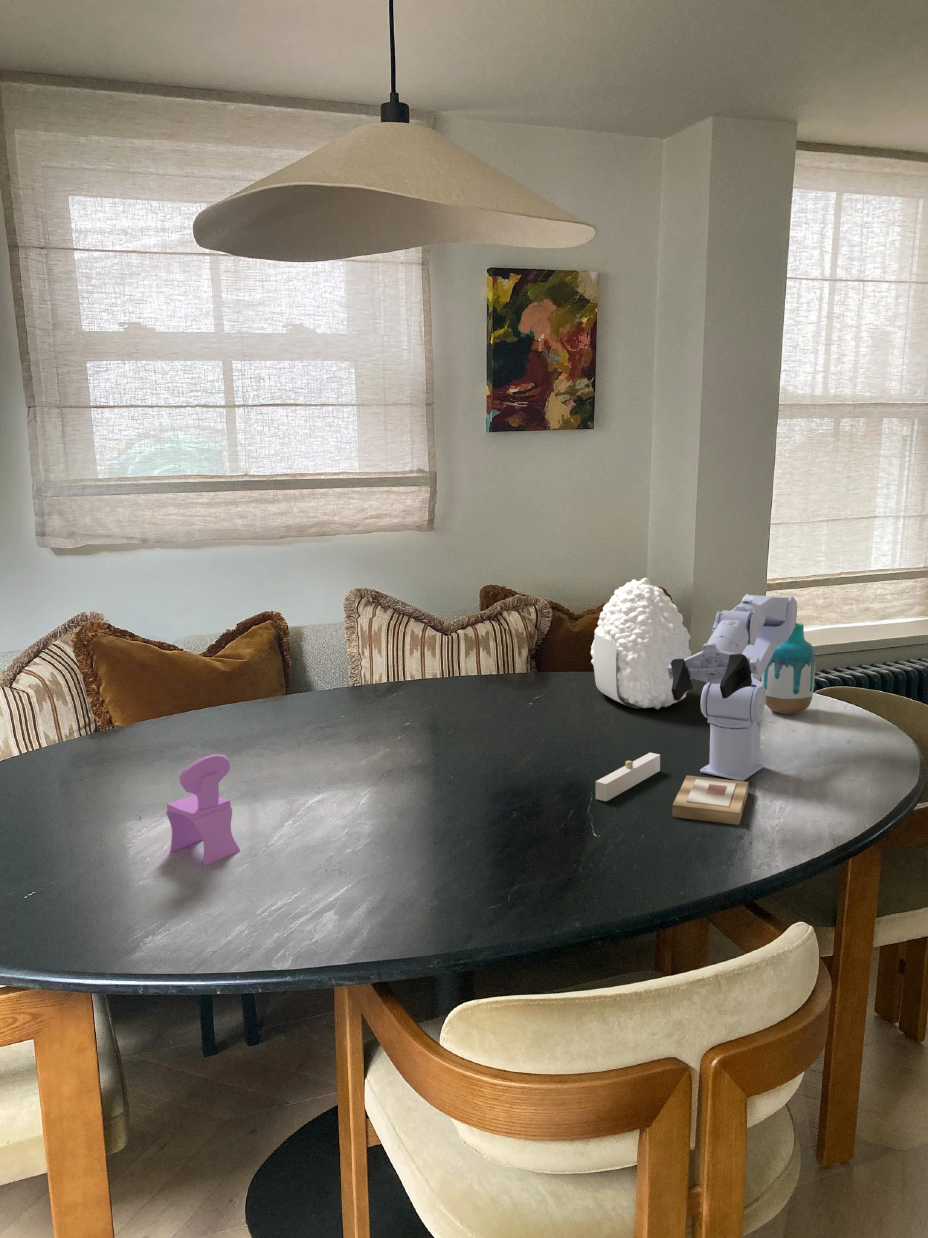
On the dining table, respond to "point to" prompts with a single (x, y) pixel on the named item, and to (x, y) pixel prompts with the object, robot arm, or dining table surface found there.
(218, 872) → the dining table surface
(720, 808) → the frame
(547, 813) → the dining table surface
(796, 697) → the vase
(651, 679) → the rice ball
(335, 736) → the dining table surface
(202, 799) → the toy chair
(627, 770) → the rail
